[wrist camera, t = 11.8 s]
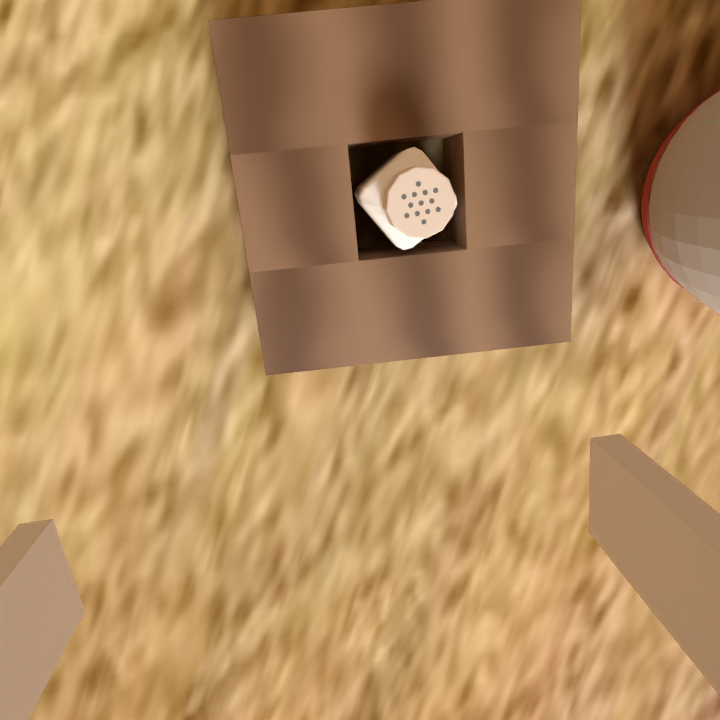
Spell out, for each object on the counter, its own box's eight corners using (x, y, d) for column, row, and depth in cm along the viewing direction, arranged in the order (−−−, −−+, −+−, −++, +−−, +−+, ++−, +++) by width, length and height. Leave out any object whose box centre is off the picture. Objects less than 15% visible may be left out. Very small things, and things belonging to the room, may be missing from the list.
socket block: (273, 349, 36) (265, 375, 31) (226, 45, 30) (208, 20, 26) (538, 320, 37) (570, 341, 32) (542, 15, 31) (582, -14, 26)
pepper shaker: (390, 242, 34) (414, 265, 25) (349, 192, 33) (358, 198, 24) (439, 199, 34) (482, 207, 25) (399, 147, 33) (428, 136, 24)
